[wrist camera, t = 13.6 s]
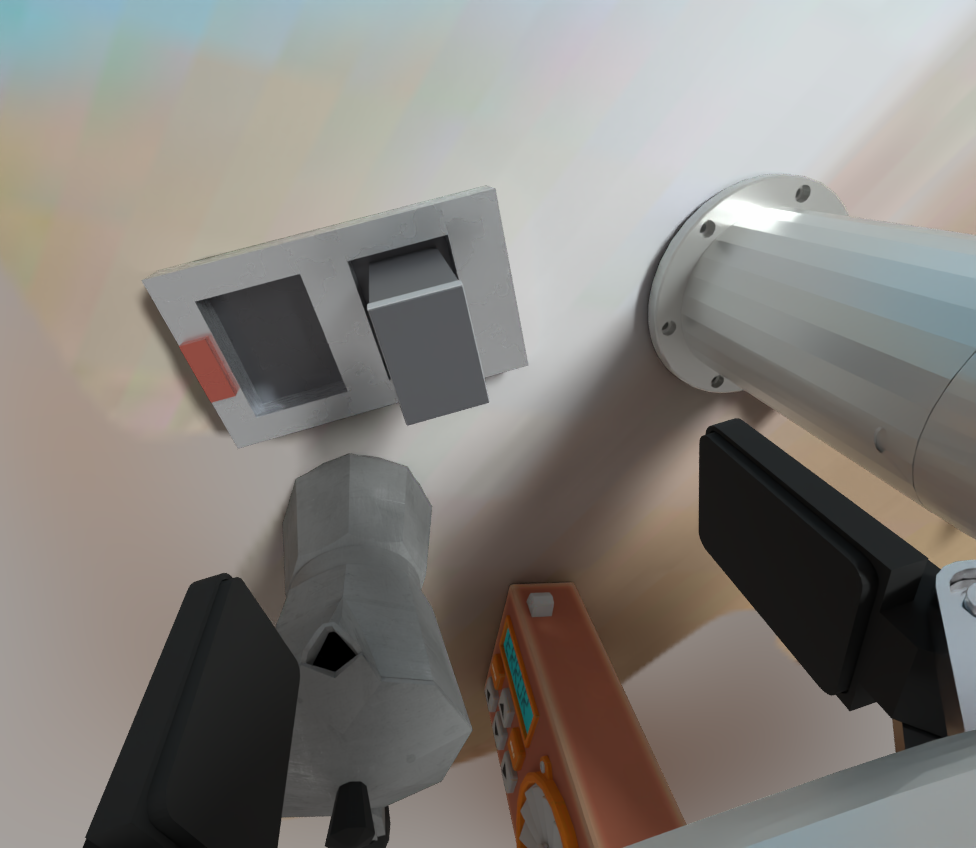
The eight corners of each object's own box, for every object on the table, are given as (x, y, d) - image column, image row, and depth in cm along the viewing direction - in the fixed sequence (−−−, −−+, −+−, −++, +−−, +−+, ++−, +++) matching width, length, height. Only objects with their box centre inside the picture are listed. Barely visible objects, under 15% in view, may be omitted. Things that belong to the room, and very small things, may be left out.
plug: (436, 244, 25) (463, 284, 18) (458, 335, 28) (490, 403, 20) (367, 261, 25) (366, 310, 18) (396, 351, 27) (406, 427, 20)
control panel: (473, 697, 44) (503, 570, 37) (547, 691, 46) (589, 568, 39) (546, 1090, 26) (631, 980, 19) (665, 1053, 28) (781, 941, 21)
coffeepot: (259, 430, 28) (127, 773, 13) (427, 414, 30) (488, 701, 14) (306, 618, 36) (258, 977, 20) (438, 597, 37) (486, 915, 22)
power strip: (486, 185, 25) (497, 189, 22) (519, 352, 29) (530, 368, 27) (158, 270, 23) (136, 283, 21) (246, 430, 28) (235, 453, 26)
